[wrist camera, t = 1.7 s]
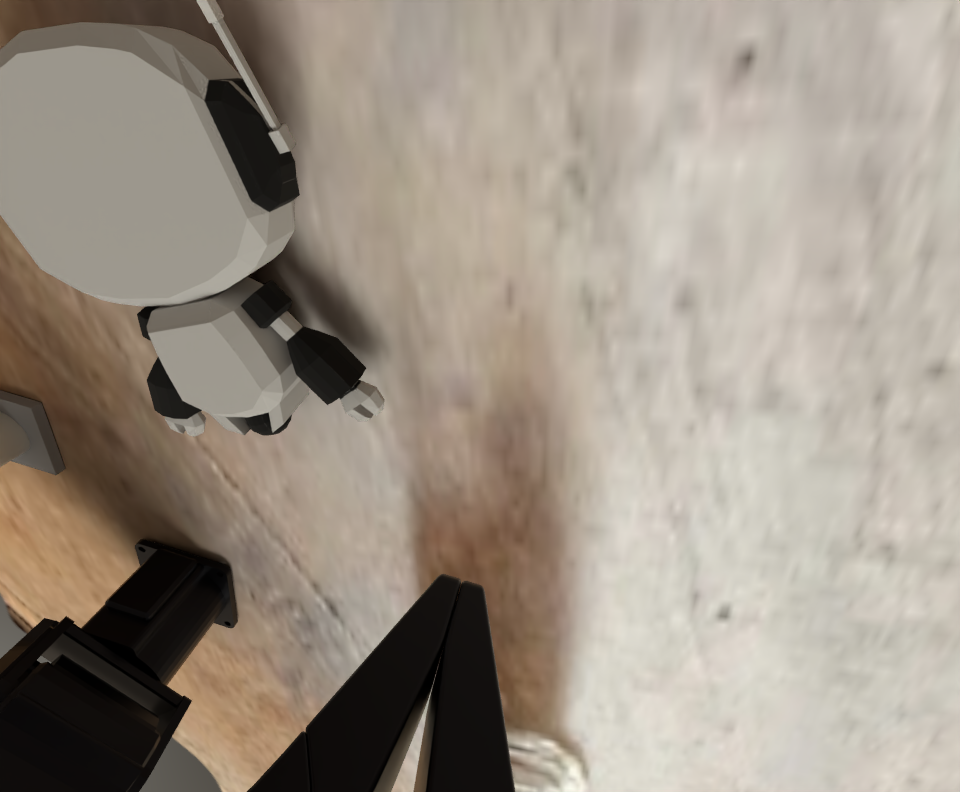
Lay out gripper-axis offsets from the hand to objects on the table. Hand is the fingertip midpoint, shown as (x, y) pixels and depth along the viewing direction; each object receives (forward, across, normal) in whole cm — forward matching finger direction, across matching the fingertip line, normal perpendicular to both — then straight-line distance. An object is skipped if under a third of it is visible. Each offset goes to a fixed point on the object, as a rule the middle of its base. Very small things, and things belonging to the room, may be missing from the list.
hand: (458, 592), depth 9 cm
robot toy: (+12, +13, 0) cm, 18 cm away
